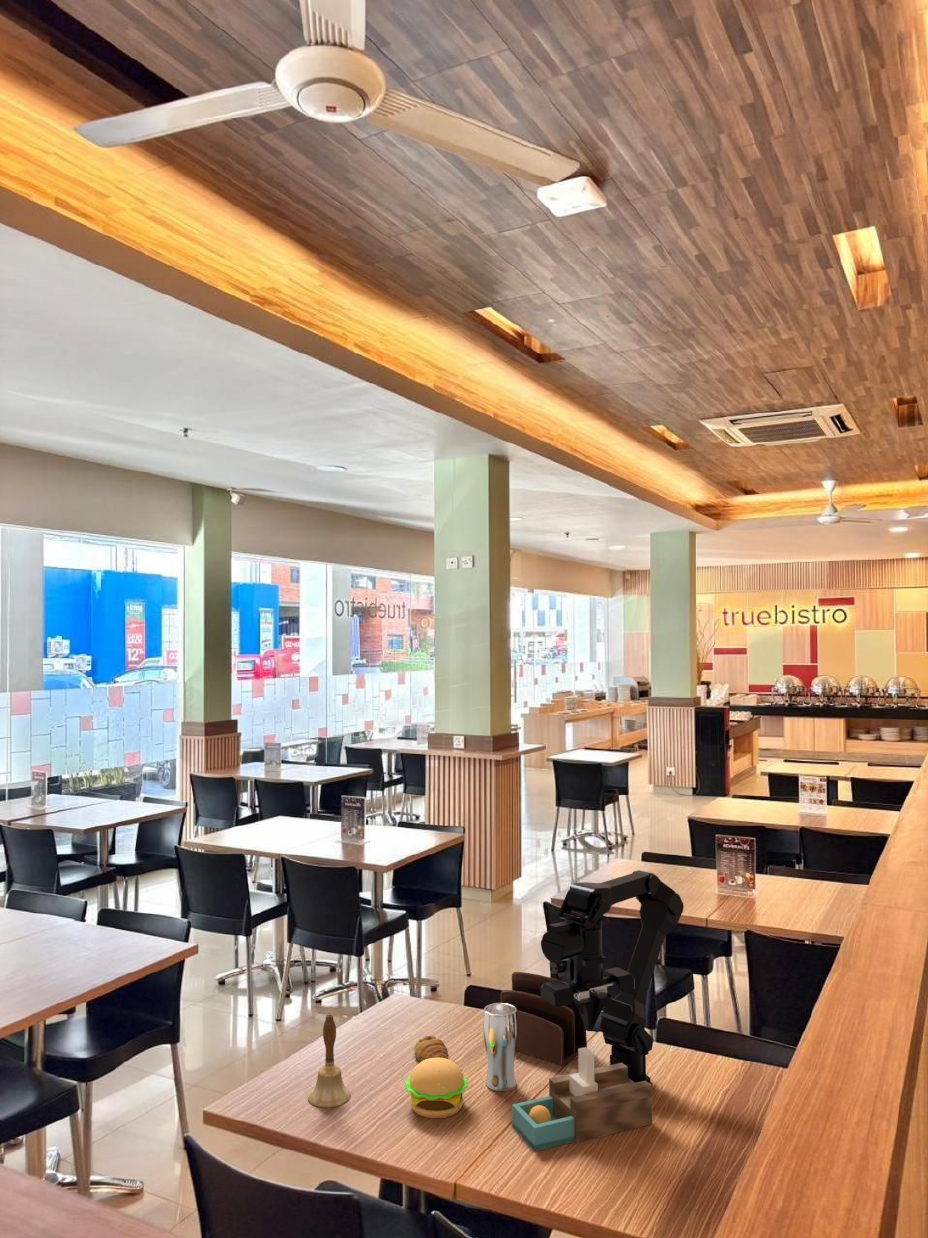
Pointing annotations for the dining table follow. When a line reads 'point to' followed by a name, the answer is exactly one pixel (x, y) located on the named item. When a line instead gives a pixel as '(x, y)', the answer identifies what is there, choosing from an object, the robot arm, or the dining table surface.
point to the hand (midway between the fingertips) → (589, 1030)
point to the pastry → (430, 1048)
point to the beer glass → (500, 1045)
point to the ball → (540, 1114)
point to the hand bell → (329, 1074)
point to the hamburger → (436, 1088)
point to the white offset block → (583, 1074)
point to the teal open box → (542, 1125)
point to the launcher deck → (604, 1103)
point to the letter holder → (544, 1021)
